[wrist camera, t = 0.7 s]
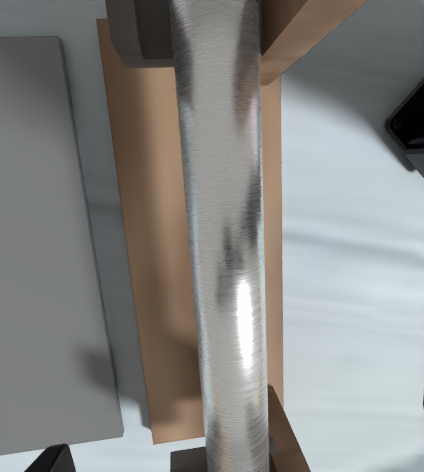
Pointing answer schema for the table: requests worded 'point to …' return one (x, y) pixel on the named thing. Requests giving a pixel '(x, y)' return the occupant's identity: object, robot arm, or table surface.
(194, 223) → the steel rail
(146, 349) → the hook stand
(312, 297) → the table surface
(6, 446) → the rubber mat
